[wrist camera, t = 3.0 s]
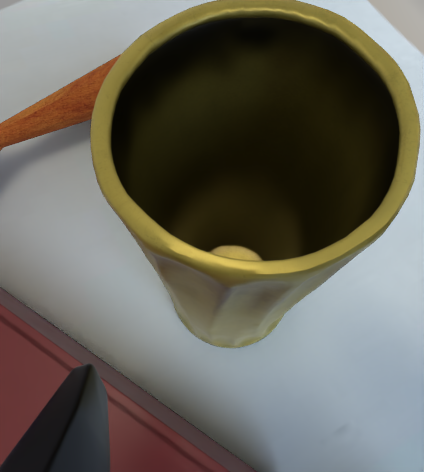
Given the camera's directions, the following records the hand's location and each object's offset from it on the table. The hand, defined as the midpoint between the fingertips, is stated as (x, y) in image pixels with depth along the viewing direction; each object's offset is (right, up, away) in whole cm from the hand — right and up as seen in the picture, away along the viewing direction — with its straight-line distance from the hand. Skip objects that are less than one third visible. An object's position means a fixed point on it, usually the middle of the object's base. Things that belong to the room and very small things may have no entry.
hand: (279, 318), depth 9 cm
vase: (-1, -1, +11) cm, 11 cm away
